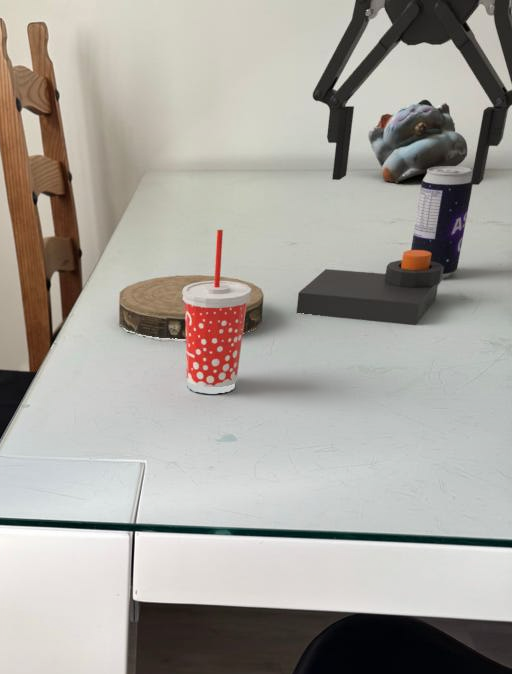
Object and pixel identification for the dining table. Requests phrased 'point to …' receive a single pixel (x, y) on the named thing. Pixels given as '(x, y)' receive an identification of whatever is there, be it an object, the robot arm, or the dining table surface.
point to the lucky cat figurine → (416, 141)
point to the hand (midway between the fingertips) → (405, 180)
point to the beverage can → (443, 215)
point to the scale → (372, 294)
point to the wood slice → (172, 306)
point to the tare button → (416, 260)
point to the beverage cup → (214, 327)
